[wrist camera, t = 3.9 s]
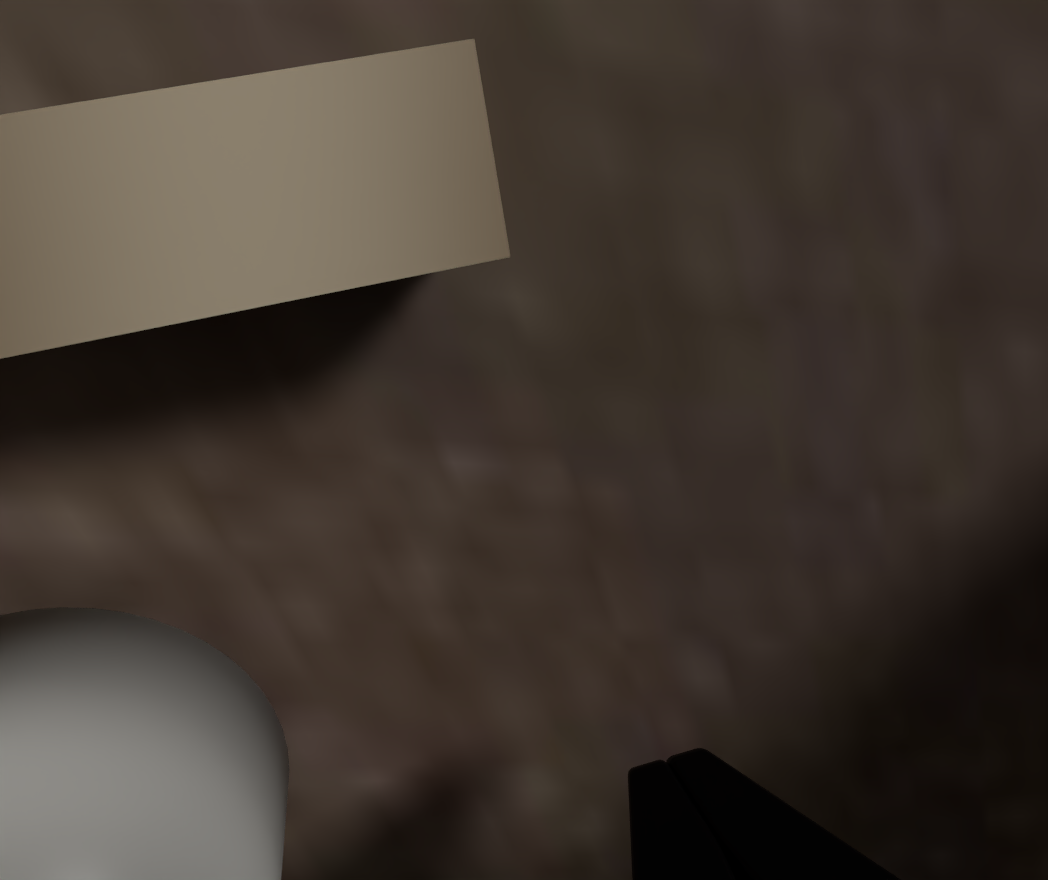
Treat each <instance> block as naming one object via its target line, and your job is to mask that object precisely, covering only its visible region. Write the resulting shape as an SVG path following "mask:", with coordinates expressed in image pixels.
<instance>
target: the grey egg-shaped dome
mask: <svg viewBox="0 0 1048 880" xmlns="http://www.w3.org/2000/svg"><path fill="white" fill-rule="evenodd" d="M288 782H289V758H288V748H287V744H286V740H285V736H284V732H283V729H282V726H281V724H280V722H279V720H278V717H277V715H276V713H275V710H274V709H273V707H272V705H271V704H270V702H269V701H268V699H267V698H266V696H265V695H264V693H263V691H262V690H261V689H260V688H259V687H258V685H257V684H256V683H255V682H254V681H253V680H252V679H251V677H250V676H249V675H248V674H247V673H246V672H245V671H244V670H243V669H242V668H240V667H239V666H238V665H237V664H236V663H235V662H234V661H232V660H231V659H230V658H229V657H228V656H226V655H225V654H223V653H222V652H220V651H219V650H217V649H216V648H214V647H213V646H211V645H210V644H208V643H207V642H205V641H203V640H201V639H199V638H197V637H195V636H193V635H191V634H189V633H187V632H185V631H183V630H181V629H178V628H176V627H173V626H170V625H167V624H165V623H162V622H159V621H156V620H154V619H150V618H146V617H141V616H137V615H133V614H129V613H125V612H118V611H111V610H103V609H96V608H68V607H60V608H47V609H34V610H26V611H21V612H15V613H10V614H5V615H0V880H281V874H282V861H283V848H284V835H285V821H286V808H287V795H288Z"/></svg>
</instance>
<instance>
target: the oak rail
mask: <svg viewBox="0 0 1048 880" xmlns="http://www.w3.org/2000/svg"><path fill="white" fill-rule="evenodd" d="M508 257H510V252H509V246H508V239H507V233H506V227H505V221H504V215H503V209H502V203H501V197H500V191H499V185H498V179H497V173H496V167H495V161H494V155H493V149H492V143H491V137H490V131H489V125H488V119H487V113H486V107H485V101H484V95H483V89H482V83H481V77H480V71H479V65H478V59H477V53H476V47H475V41H474V39H469V40H463V41H457V42H451V43H444V44H438V45H432V46H426V47H419V48H413V49H407V50H401V51H395V52H388V53H382V54H376V55H370V56H363V57H357V58H351V59H345V60H339V61H332V62H326V63H320V64H314V65H307V66H301V67H295V68H289V69H283V70H276V71H270V72H264V73H258V74H251V75H245V76H239V77H233V78H227V79H220V80H214V81H208V82H202V83H195V84H189V85H183V86H177V87H171V88H164V89H158V90H152V91H146V92H140V93H133V94H127V95H121V96H115V97H108V98H102V99H96V100H90V101H84V102H77V103H71V104H65V105H59V106H52V107H46V108H40V109H34V110H28V111H21V112H15V113H9V114H3V115H0V359H2V358H7V357H12V356H17V355H22V354H27V353H32V352H37V351H42V350H47V349H52V348H57V347H62V346H67V345H72V344H77V343H82V342H87V341H92V340H97V339H102V338H107V337H112V336H117V335H122V334H127V333H132V332H137V331H142V330H147V329H152V328H157V327H162V326H167V325H172V324H177V323H182V322H187V321H192V320H197V319H202V318H207V317H212V316H217V315H222V314H227V313H232V312H237V311H242V310H247V309H252V308H257V307H262V306H267V305H272V304H277V303H282V302H287V301H292V300H297V299H302V298H307V297H312V296H317V295H322V294H327V293H332V292H337V291H342V290H347V289H352V288H357V287H362V286H367V285H372V284H377V283H382V282H387V281H392V280H398V279H403V278H408V277H413V276H418V275H423V274H428V273H433V272H438V271H443V270H448V269H453V268H458V267H463V266H468V265H473V264H478V263H483V262H488V261H493V260H498V259H503V258H508Z"/></svg>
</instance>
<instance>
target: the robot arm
mask: <svg viewBox="0 0 1048 880" xmlns="http://www.w3.org/2000/svg"><path fill="white" fill-rule="evenodd" d="M628 789H629V811H630V834H631V856H632V878H633V880H900V879H899V878H897V877H896V876H894V875H893V874H891V873H890V872H888V871H887V870H885V869H884V868H882V867H881V866H879V865H878V864H876V863H875V862H873V861H872V860H870V859H869V858H867V857H866V856H864V855H863V854H861V853H860V852H858V851H857V850H855V849H854V848H852V847H851V846H849V845H848V844H846V843H845V842H843V841H842V840H840V839H839V838H837V837H836V836H834V835H833V834H831V833H830V832H828V831H827V830H825V829H824V828H822V827H821V826H819V825H818V824H817V823H815V822H814V821H812V820H811V819H809V818H808V817H806V816H805V815H803V814H802V813H800V812H799V811H797V810H796V809H794V808H793V807H791V806H790V805H788V804H787V803H785V802H784V801H782V800H781V799H779V798H778V797H776V796H775V795H773V794H772V793H770V792H769V791H767V790H766V789H764V788H763V787H761V786H760V785H758V784H757V783H755V782H754V781H752V780H751V779H749V778H748V777H746V776H745V775H743V774H742V773H740V772H739V771H737V770H736V769H734V768H733V767H732V766H730V765H729V764H727V763H726V762H724V761H723V760H721V759H720V758H718V757H717V756H715V755H714V754H712V753H711V752H709V751H707V750H705V749H702V748H697V749H693V750H690V751H687V752H683V753H680V754H676V755H673V756H671V757H669V758H668V760H667V762H665V761H663V760H656V761H653V762H650V763H646V764H643V765H640V766H636V767H633V768H631V769H630V770H629V772H628Z"/></svg>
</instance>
